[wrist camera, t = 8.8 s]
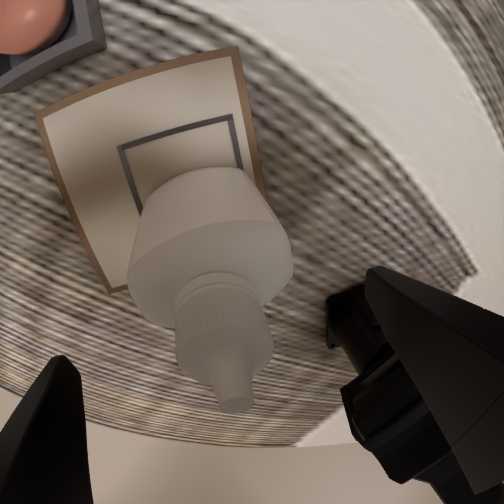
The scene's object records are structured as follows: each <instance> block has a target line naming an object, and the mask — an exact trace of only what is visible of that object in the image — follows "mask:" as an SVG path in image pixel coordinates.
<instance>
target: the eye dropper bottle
mask: <svg viewBox="0 0 504 504" xmlns="http://www.w3.org/2000/svg"><path fill="white" fill-rule="evenodd" d="M293 271H294V266H293V258H292V252H291V247H290V243H289V239H288V236H287V234H286V232H285V230H284V228H283V227H282V225H281V224H280V222H279V220H278V219H277V217H276V216H275V214H274V212H273V211H272V209H271V208H270V206H269V205H268V203H267V202H266V201H265V199H264V198H263V196H262V195H261V193H260V192H259V190H258V189H257V188H256V186H255V185H254V183H253V182H252V181H251V179H250V178H249V176H248V175H247V174H246V172H245V171H243V170H241V169H239V168H235V167H226V166H215V167H205V168H199V169H195V170H191V171H188V172H185V173H183V174H181V175H178V176H176V177H174V178H172V179H171V180H169V181H167V182H166V183H164V184H163V185H161V186H160V187H159V188H157V189H156V190H155V191H154V192H153V193H152V194H151V195H150V196H149V197H148V198H147V200H146V202H145V204H144V207H143V210H142V213H141V217H140V221H139V224H138V228H137V232H136V236H135V240H134V244H133V248H132V252H131V257H130V261H129V267H128V273H127V284H128V289H129V292H130V294H131V296H132V298H133V300H134V302H135V304H136V305H137V307H138V309H139V310H140V312H141V313H142V314H143V316H144V317H145V318H146V319H147V320H148V321H150V322H151V323H153V324H155V325H158V326H162V327H167V328H174V329H175V342H176V359H177V363H178V364H179V367H180V368H181V370H182V371H183V372H184V373H185V374H186V375H188V376H189V377H191V378H192V379H194V380H196V381H199V382H202V383H206V384H211V386H212V388H213V391H214V393H215V396H216V398H217V400H218V403H219V405H220V407H221V409H222V411H224V412H226V413H240V412H243V411H246V410H248V409H249V408H250V407H251V406H252V405H253V387H252V376H254V375H256V374H257V373H259V372H260V371H261V370H262V369H263V368H264V367H265V366H266V365H267V364H268V363H269V361H270V360H271V358H272V355H273V352H274V347H275V346H274V340H273V337H272V334H271V332H270V329H269V326H268V324H267V321H266V318H265V315H264V313H263V310H262V307H263V306H264V305H265V304H267V303H268V302H269V301H271V300H272V299H273V298H274V297H275V296H277V295H278V294H279V293H280V292H281V291H282V290H283V289H284V288H285V287H286V286H287V284H288V283H289V281H290V280H291V279H292V276H293Z"/></svg>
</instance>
